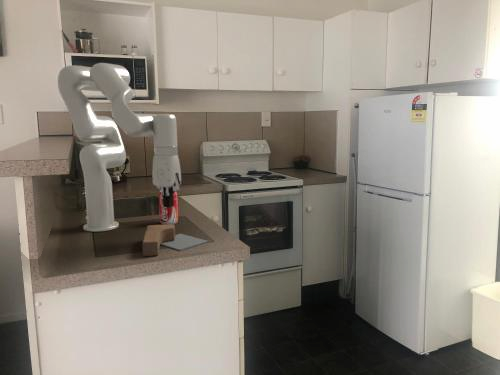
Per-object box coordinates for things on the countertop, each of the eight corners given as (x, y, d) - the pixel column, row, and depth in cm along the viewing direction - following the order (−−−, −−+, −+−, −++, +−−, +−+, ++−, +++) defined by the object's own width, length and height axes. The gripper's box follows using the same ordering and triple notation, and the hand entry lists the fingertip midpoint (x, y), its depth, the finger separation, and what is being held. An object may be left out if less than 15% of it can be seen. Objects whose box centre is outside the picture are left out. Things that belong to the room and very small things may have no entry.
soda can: (169, 219, 168) (168, 188, 166) (182, 222, 164) (180, 190, 162) (155, 223, 162) (154, 190, 160) (168, 226, 158) (167, 192, 156)
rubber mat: (152, 242, 137) (152, 241, 137) (180, 234, 146) (180, 233, 146) (179, 250, 128) (179, 249, 128) (208, 242, 137) (208, 241, 137)
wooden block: (174, 223, 141) (173, 240, 123) (175, 236, 142) (173, 254, 124) (147, 225, 139) (142, 242, 122) (148, 237, 140) (142, 256, 123)
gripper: (143, 152, 138) (146, 205, 141) (171, 153, 128) (173, 211, 131) (161, 150, 144) (164, 202, 146) (189, 152, 134) (191, 207, 137)
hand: (168, 206), depth 139 cm, fingers closed
